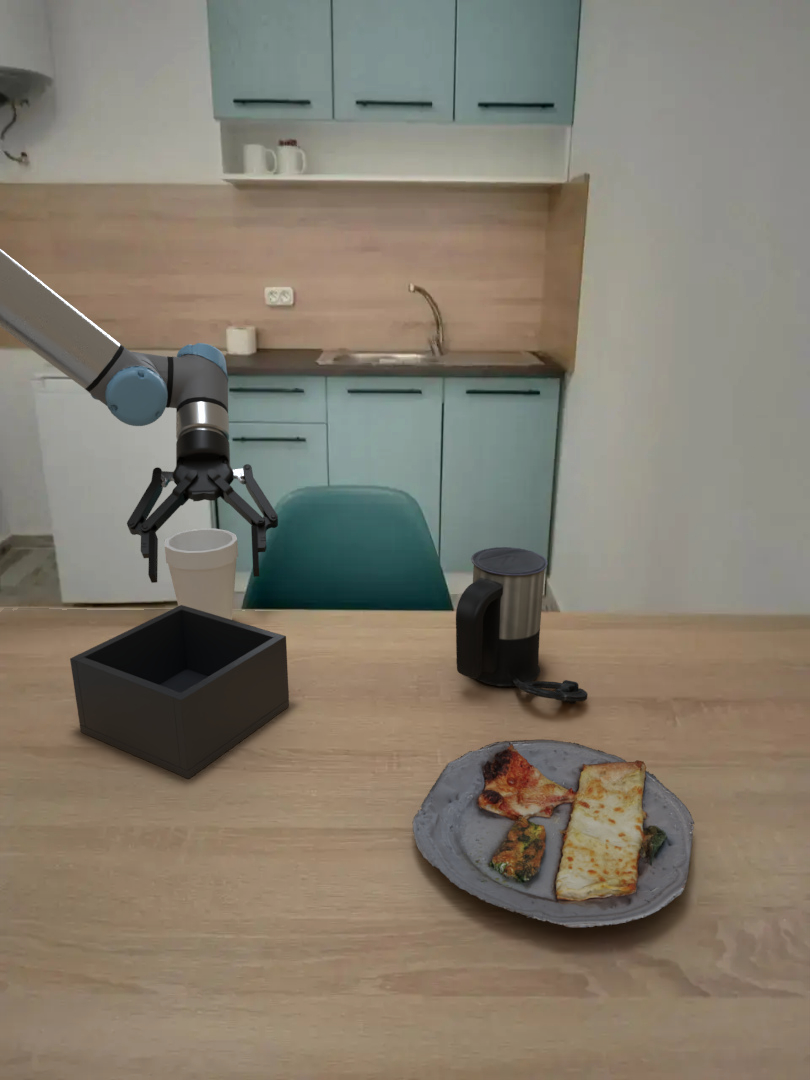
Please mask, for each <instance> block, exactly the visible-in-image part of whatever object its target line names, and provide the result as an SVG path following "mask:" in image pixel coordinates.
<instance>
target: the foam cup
mask: <svg viewBox="0 0 810 1080" xmlns="http://www.w3.org/2000/svg"><path fill="white" fill-rule="evenodd" d="M163 543H164V552H165V553H164V554H165V562H166V564H167V565H168V569H169V573H170V577H171V582H172V586H173V590H174V594H175V598H176V603H177V607H178V606H180V605H183V606H187V607H190V608H194V609H197V610H200V611H204V612H207V613H210V614H214V615H217V616H220V617H224V618H227V619H230V620H233V614H234V599H235V587H236V574H237V573H236V572H237V559H238V557H239V547H238V545H239V544H238V537H237V535H236V533H233V532H231V531H229V530H227V529H222V528H221V529H220V528H194V529H193V528H192V529H187V530H183V531H180V532H177V533H173V534H171V535H169V536H168V537H167V538H166V539H164V542H163Z"/></svg>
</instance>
